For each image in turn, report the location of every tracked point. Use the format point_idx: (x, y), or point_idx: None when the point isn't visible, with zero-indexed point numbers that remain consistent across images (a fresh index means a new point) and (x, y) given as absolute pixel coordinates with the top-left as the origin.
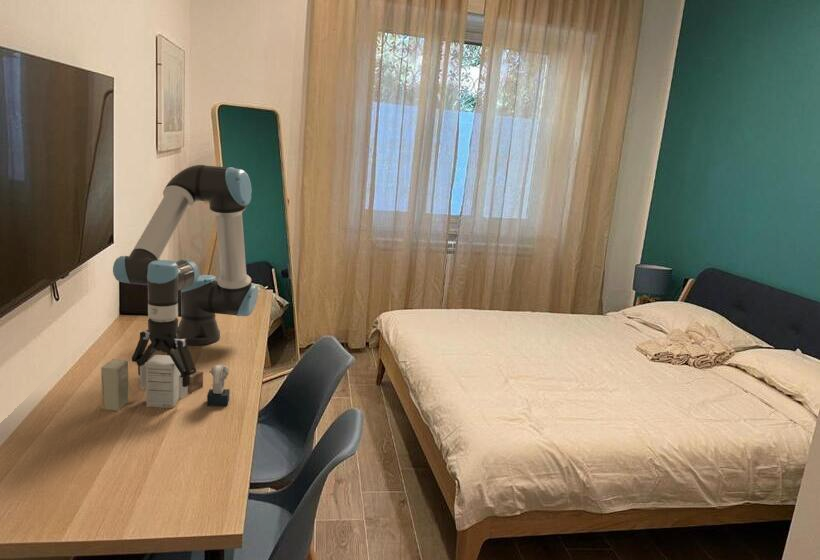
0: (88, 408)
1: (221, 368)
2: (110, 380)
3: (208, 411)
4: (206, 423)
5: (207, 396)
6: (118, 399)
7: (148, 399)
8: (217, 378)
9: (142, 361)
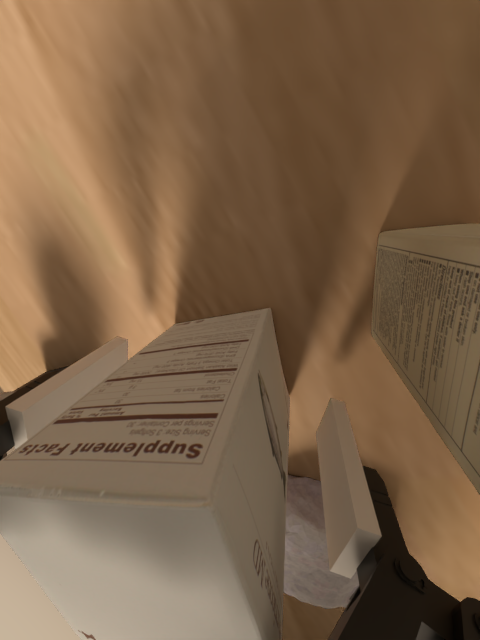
0: None
1: None
2: None
3: (64, 325)
4: (10, 240)
5: None
6: (397, 247)
7: (257, 319)
8: None
9: (363, 592)
